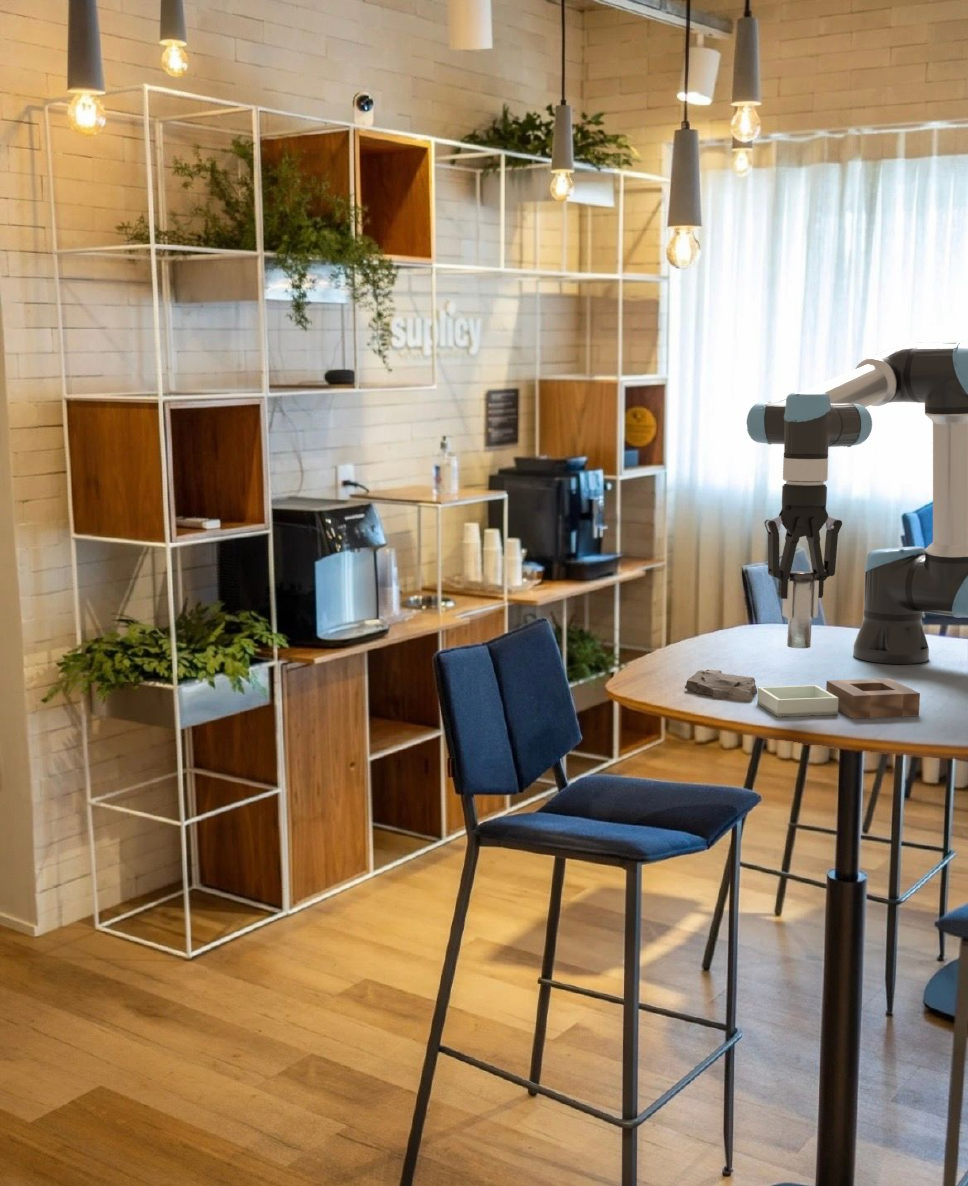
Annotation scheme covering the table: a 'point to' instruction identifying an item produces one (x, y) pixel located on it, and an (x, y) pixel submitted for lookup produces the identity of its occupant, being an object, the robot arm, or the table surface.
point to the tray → (797, 700)
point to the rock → (722, 685)
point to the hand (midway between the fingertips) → (799, 616)
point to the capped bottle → (801, 610)
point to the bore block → (874, 698)
